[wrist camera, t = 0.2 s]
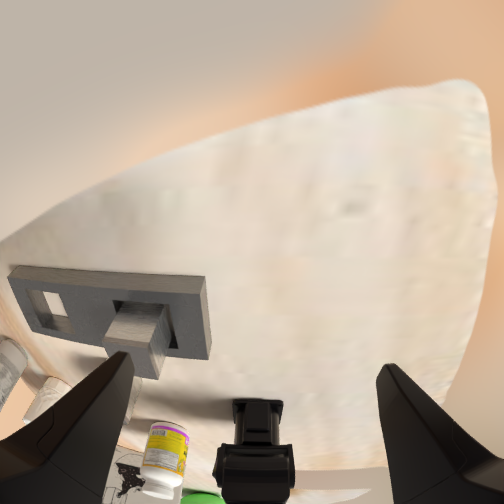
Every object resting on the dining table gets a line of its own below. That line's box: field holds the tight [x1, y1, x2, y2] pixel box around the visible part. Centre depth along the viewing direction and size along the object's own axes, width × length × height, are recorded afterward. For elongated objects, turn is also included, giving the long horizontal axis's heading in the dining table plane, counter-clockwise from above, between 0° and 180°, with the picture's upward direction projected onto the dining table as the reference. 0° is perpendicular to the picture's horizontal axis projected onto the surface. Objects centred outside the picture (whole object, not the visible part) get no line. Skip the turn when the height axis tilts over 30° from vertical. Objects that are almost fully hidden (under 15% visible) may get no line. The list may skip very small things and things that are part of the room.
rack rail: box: [7, 266, 212, 360], centre depth 25 cm, size 8×23×2 cm, turn 89°
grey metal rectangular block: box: [102, 301, 174, 380], centre depth 23 cm, size 4×4×7 cm
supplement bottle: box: [140, 422, 190, 500], centre depth 34 cm, size 7×7×13 cm
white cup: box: [23, 377, 72, 425], centre depth 32 cm, size 8×8×10 cm
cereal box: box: [102, 445, 186, 504], centre depth 38 cm, size 22×8×25 cm, turn 77°
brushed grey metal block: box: [106, 358, 143, 425], centre depth 29 cm, size 4×4×7 cm
